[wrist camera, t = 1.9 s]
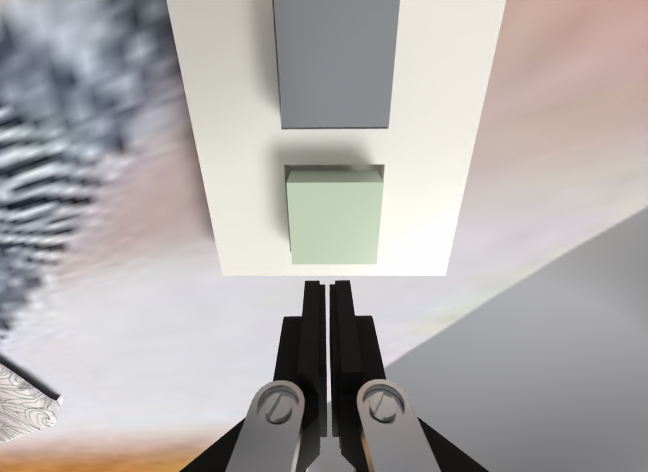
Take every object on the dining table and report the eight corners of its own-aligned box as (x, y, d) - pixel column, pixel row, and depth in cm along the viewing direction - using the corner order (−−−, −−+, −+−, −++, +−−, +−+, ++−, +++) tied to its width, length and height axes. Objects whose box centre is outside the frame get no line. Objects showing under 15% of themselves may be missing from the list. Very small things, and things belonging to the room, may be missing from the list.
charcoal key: (389, 5, 14) (400, -8, 12) (380, 120, 17) (388, 126, 15) (281, 6, 14) (273, -7, 12) (288, 121, 17) (282, 127, 15)
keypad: (537, -308, 12) (599, -421, 9) (432, 253, 24) (445, 275, 21) (138, -298, 12) (84, -406, 9) (233, 254, 24) (222, 275, 21)
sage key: (377, 170, 18) (383, 182, 16) (371, 245, 20) (376, 264, 18) (291, 170, 18) (286, 182, 16) (295, 245, 20) (292, 264, 18)
